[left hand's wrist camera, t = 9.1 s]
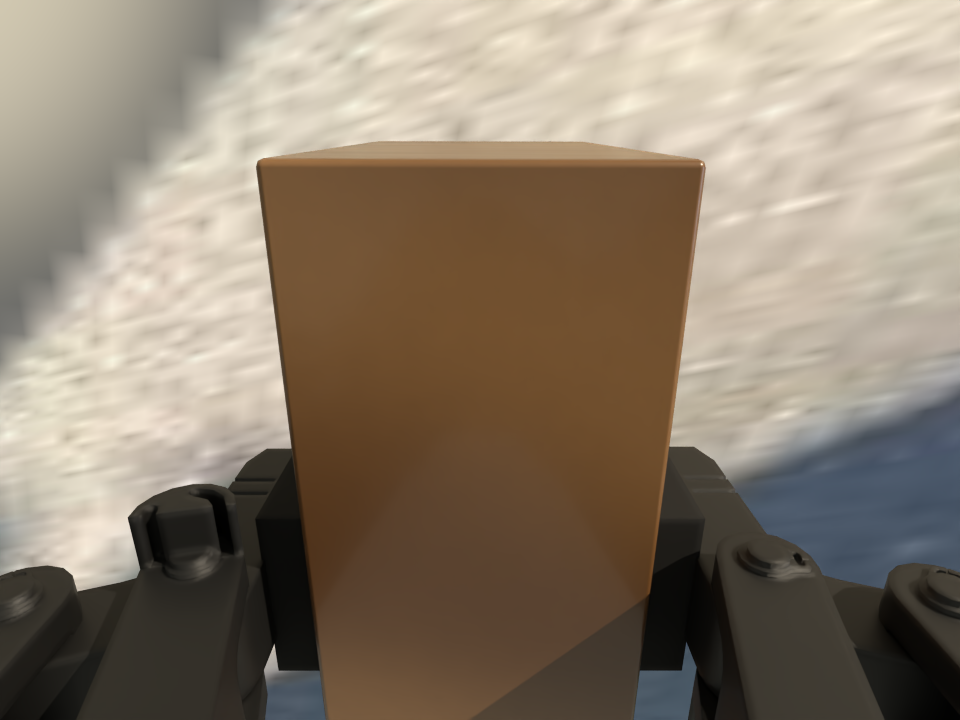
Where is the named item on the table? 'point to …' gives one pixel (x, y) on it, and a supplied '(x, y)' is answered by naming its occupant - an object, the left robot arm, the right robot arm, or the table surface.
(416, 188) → the beam
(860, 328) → the table surface
